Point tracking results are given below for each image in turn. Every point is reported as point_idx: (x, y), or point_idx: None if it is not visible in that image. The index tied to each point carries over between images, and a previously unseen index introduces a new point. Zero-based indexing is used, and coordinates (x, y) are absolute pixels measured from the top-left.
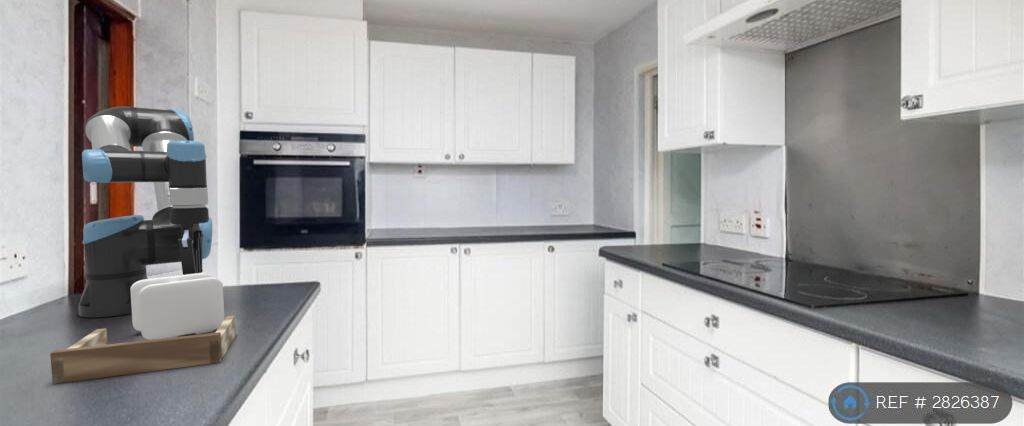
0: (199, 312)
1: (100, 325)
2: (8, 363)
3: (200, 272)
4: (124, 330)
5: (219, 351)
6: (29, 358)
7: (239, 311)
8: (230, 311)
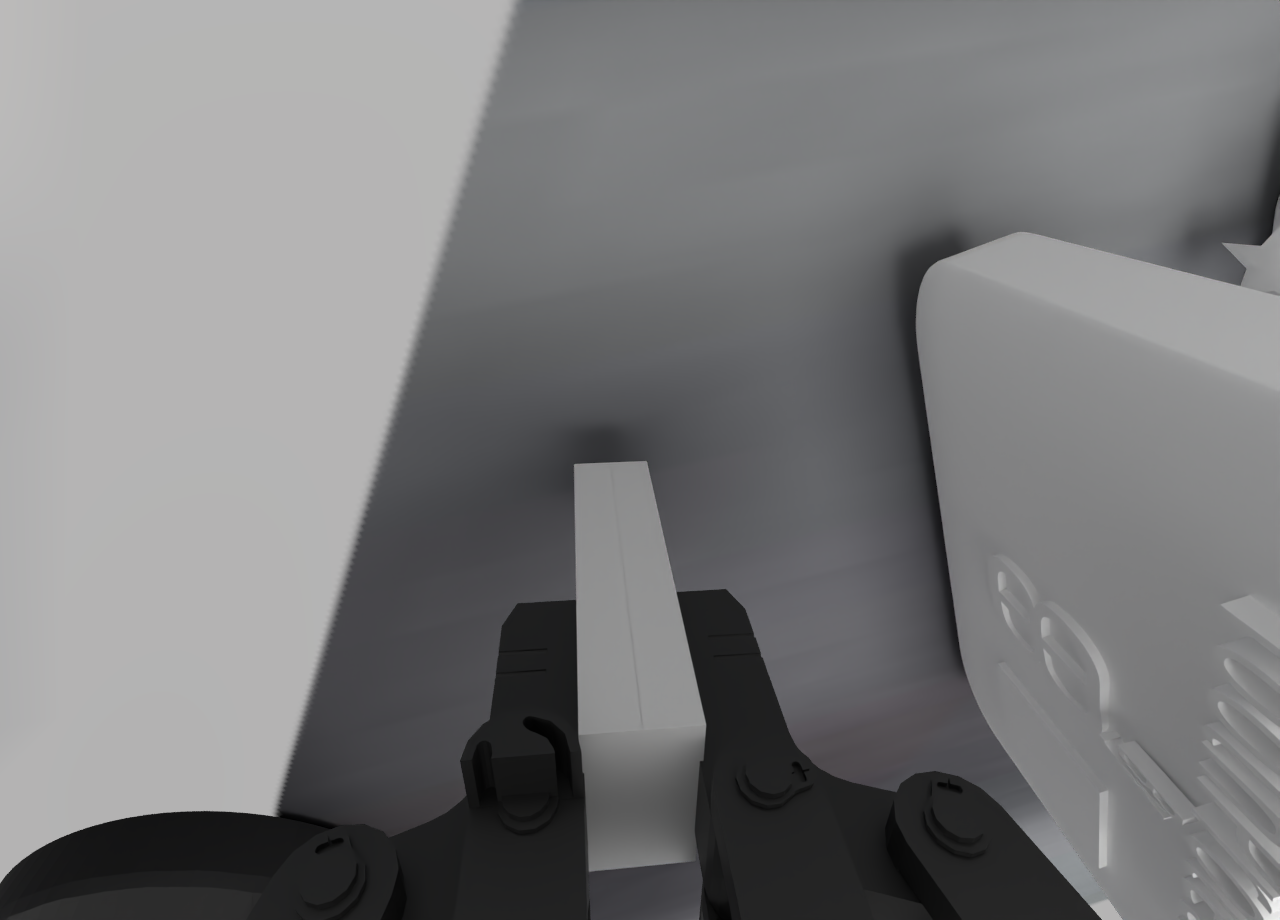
0: None
1: (633, 876)
2: (1106, 899)
3: (499, 837)
4: (826, 748)
5: None
6: (1088, 876)
7: (609, 6)
8: (564, 134)
